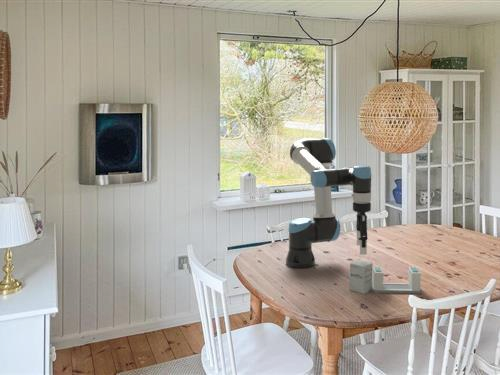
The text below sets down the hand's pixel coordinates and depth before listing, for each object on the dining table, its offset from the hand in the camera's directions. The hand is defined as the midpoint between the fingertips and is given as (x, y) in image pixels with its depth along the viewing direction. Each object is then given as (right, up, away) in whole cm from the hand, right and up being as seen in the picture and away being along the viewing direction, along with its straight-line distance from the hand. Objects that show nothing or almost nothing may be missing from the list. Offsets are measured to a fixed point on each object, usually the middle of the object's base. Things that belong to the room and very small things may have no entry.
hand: (361, 249), depth 204 cm
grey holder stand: (+16, -18, +3) cm, 24 cm away
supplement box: (0, -18, +3) cm, 19 cm away
